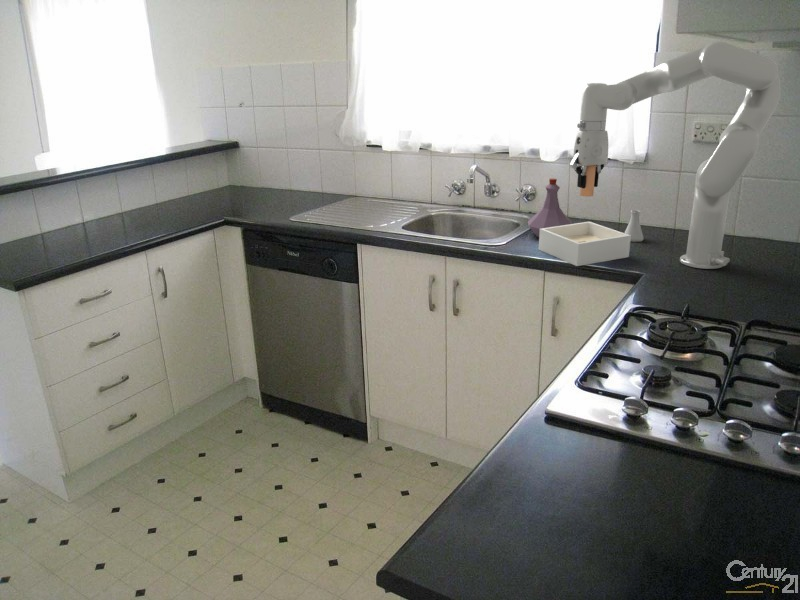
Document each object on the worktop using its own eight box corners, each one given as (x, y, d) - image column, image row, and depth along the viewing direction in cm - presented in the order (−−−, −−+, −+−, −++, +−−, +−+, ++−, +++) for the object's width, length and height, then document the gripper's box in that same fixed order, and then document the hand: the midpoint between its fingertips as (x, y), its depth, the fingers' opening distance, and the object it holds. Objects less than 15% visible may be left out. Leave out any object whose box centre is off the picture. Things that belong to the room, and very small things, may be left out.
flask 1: (559, 228, 247) (562, 173, 240) (582, 239, 232) (587, 181, 225) (518, 232, 243) (520, 176, 235) (539, 244, 228) (542, 185, 221)
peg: (596, 195, 210) (598, 163, 206) (585, 197, 208) (588, 164, 205) (587, 193, 213) (590, 161, 209) (577, 194, 212) (579, 162, 208)
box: (628, 257, 212) (630, 235, 210) (576, 266, 205) (578, 244, 202) (587, 241, 230) (589, 221, 227) (538, 249, 222) (539, 228, 220)
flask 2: (645, 242, 227) (648, 213, 223) (622, 242, 228) (625, 213, 225) (642, 237, 233) (645, 208, 230) (620, 236, 235) (623, 208, 231)
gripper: (577, 129, 197) (572, 191, 203) (623, 125, 203) (616, 186, 210) (562, 126, 203) (557, 187, 210) (606, 123, 209) (600, 182, 216)
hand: (587, 186), depth 210 cm, fingers closed on peg, 4 cm apart
